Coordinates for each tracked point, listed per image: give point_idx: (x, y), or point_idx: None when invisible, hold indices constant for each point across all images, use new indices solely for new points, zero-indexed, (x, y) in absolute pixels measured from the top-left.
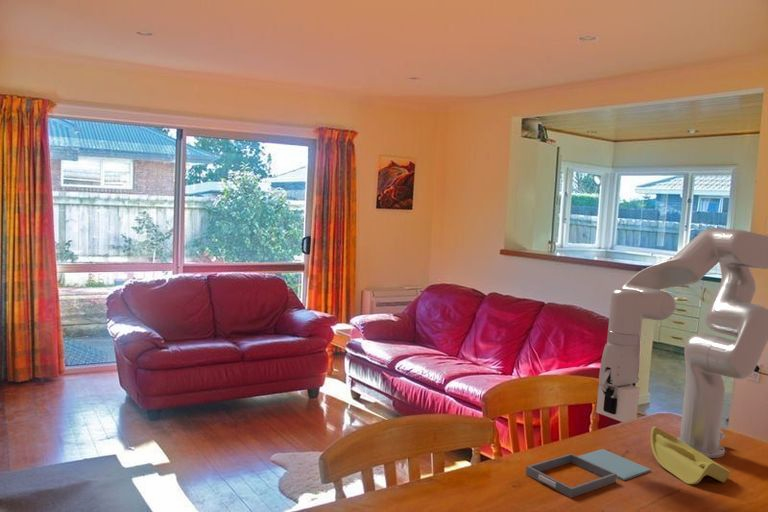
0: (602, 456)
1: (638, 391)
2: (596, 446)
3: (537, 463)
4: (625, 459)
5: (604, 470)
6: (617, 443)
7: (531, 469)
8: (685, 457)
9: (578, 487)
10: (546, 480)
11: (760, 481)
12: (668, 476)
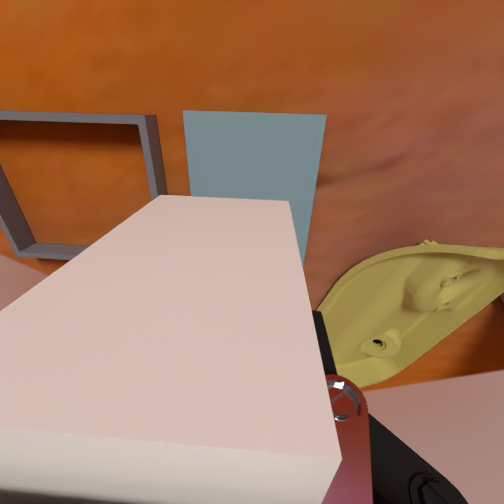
0: (265, 157)
1: None
2: (348, 72)
3: None
4: (305, 207)
5: None
6: (445, 98)
7: None
8: (385, 323)
9: (39, 257)
10: None
11: (432, 380)
12: (309, 297)
